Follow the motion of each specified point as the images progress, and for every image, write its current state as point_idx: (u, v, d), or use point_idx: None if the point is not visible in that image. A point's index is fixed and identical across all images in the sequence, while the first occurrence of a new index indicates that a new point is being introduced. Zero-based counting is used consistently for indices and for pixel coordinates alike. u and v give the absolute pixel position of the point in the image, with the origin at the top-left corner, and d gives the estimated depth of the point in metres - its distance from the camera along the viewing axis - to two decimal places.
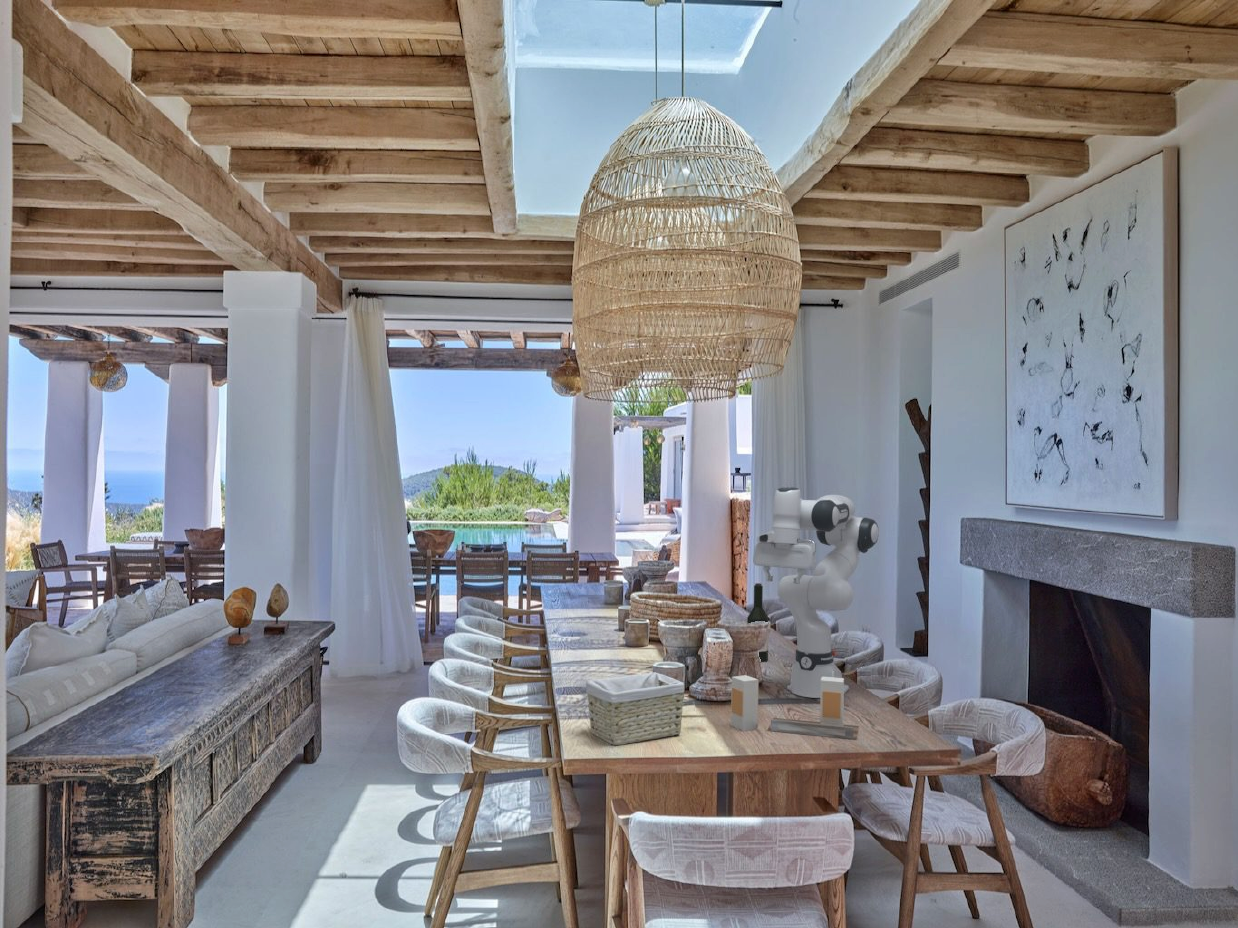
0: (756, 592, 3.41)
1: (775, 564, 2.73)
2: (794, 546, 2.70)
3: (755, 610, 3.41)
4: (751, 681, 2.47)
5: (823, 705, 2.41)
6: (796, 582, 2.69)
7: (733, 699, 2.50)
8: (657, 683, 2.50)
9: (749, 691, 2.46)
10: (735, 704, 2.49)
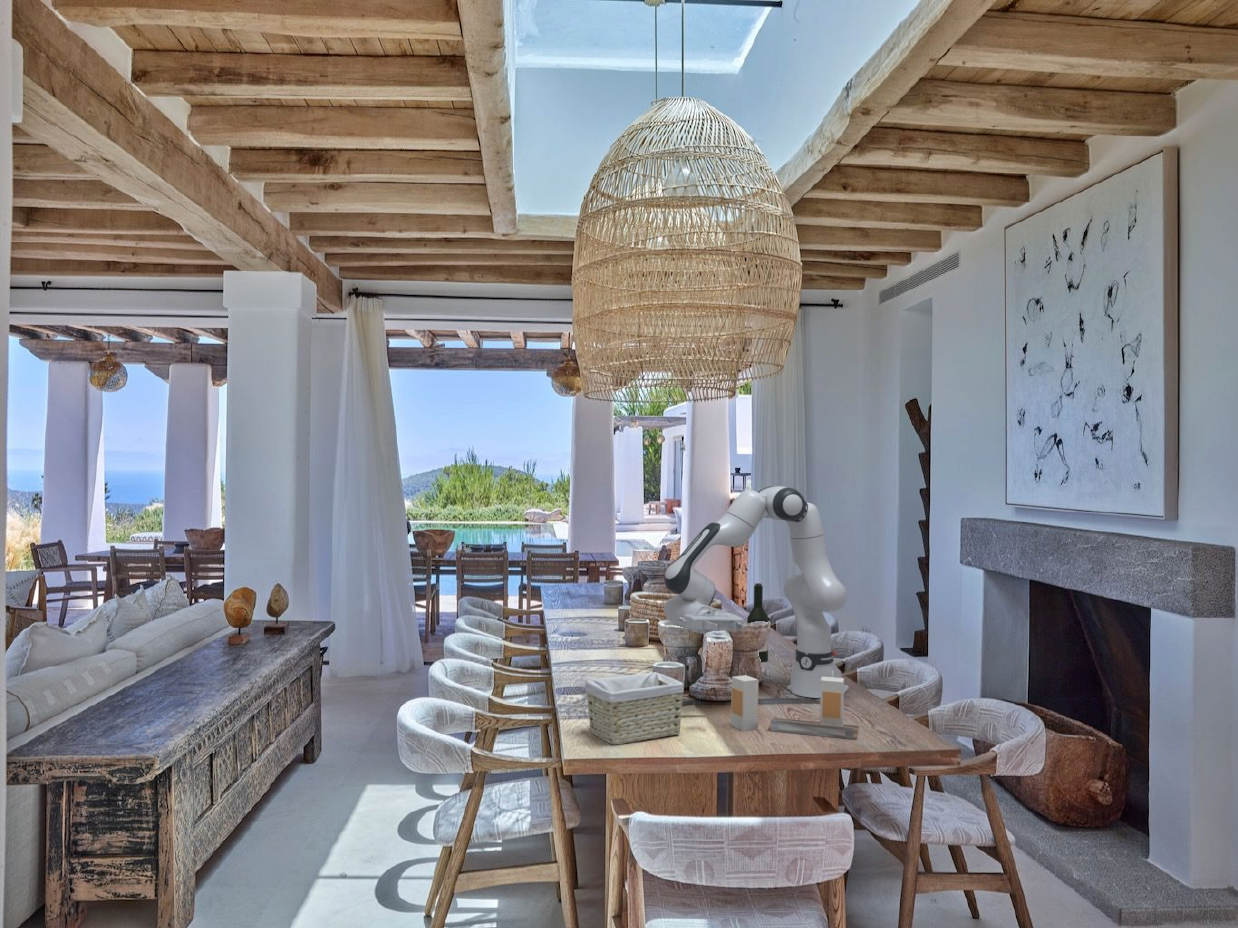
0: (756, 592, 3.41)
1: (722, 629, 2.65)
2: None
3: (755, 610, 3.41)
4: (751, 681, 2.47)
5: (823, 705, 2.41)
6: (716, 630, 2.57)
7: (733, 699, 2.50)
8: (657, 683, 2.50)
9: (749, 691, 2.46)
10: (735, 704, 2.49)
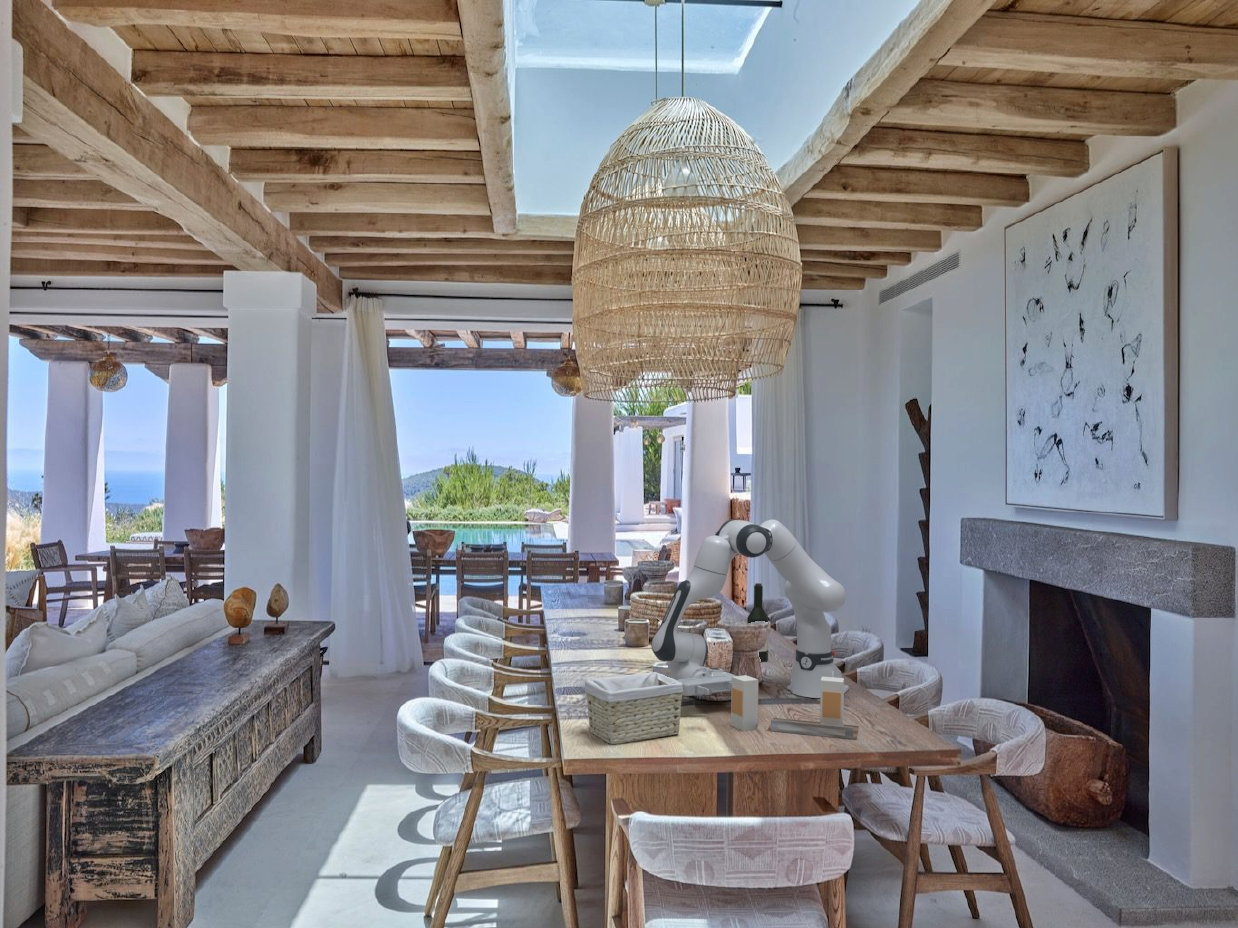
0: (756, 592, 3.41)
1: (718, 691, 2.65)
2: None
3: (755, 610, 3.41)
4: (751, 681, 2.47)
5: (823, 705, 2.41)
6: (708, 694, 2.57)
7: (733, 699, 2.50)
8: (656, 683, 2.51)
9: (749, 691, 2.46)
10: (735, 704, 2.49)
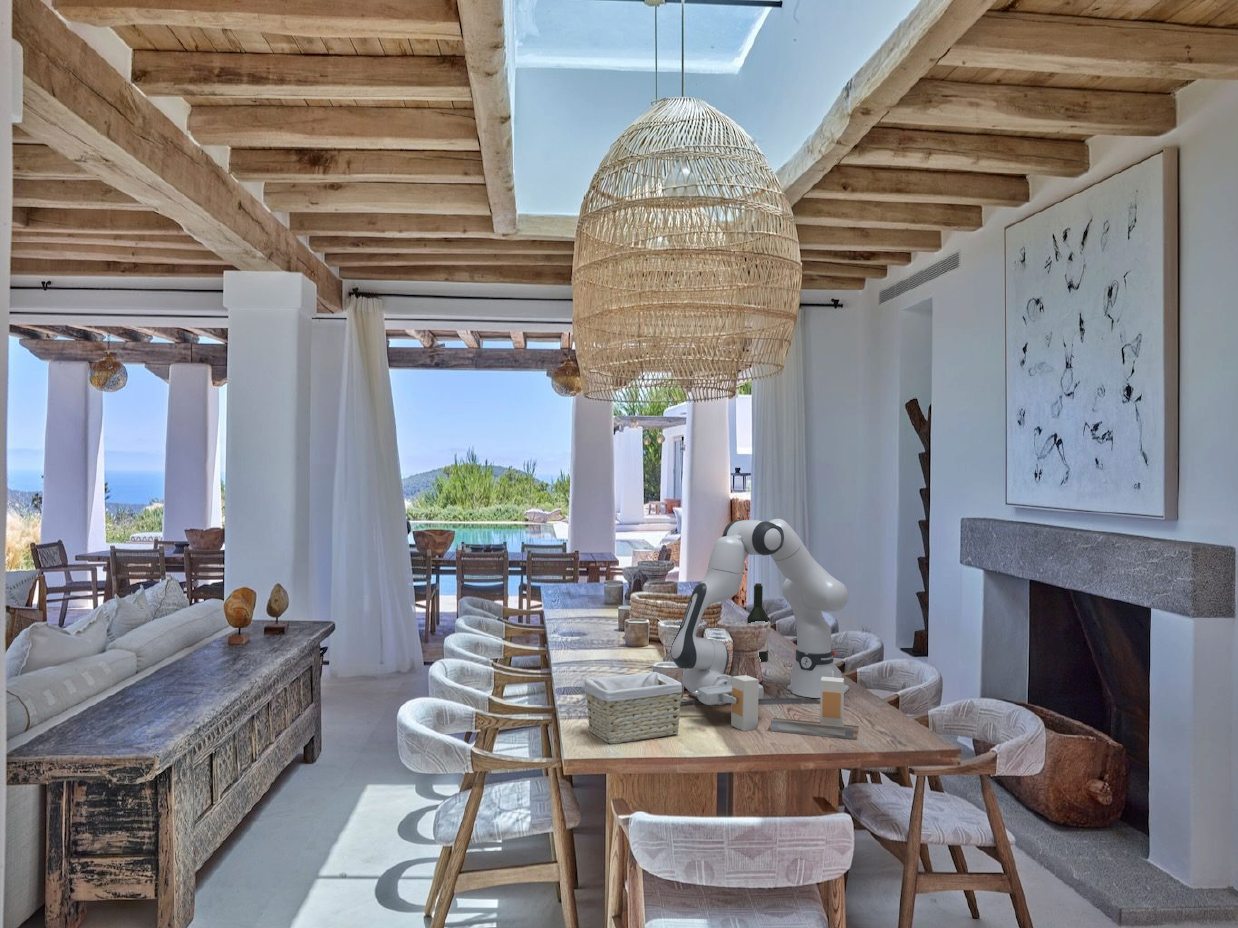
0: (756, 592, 3.41)
1: None
2: None
3: (755, 610, 3.41)
4: (751, 681, 2.47)
5: (823, 705, 2.41)
6: (735, 703, 2.47)
7: None
8: (656, 683, 2.51)
9: (749, 691, 2.47)
10: (735, 704, 2.49)
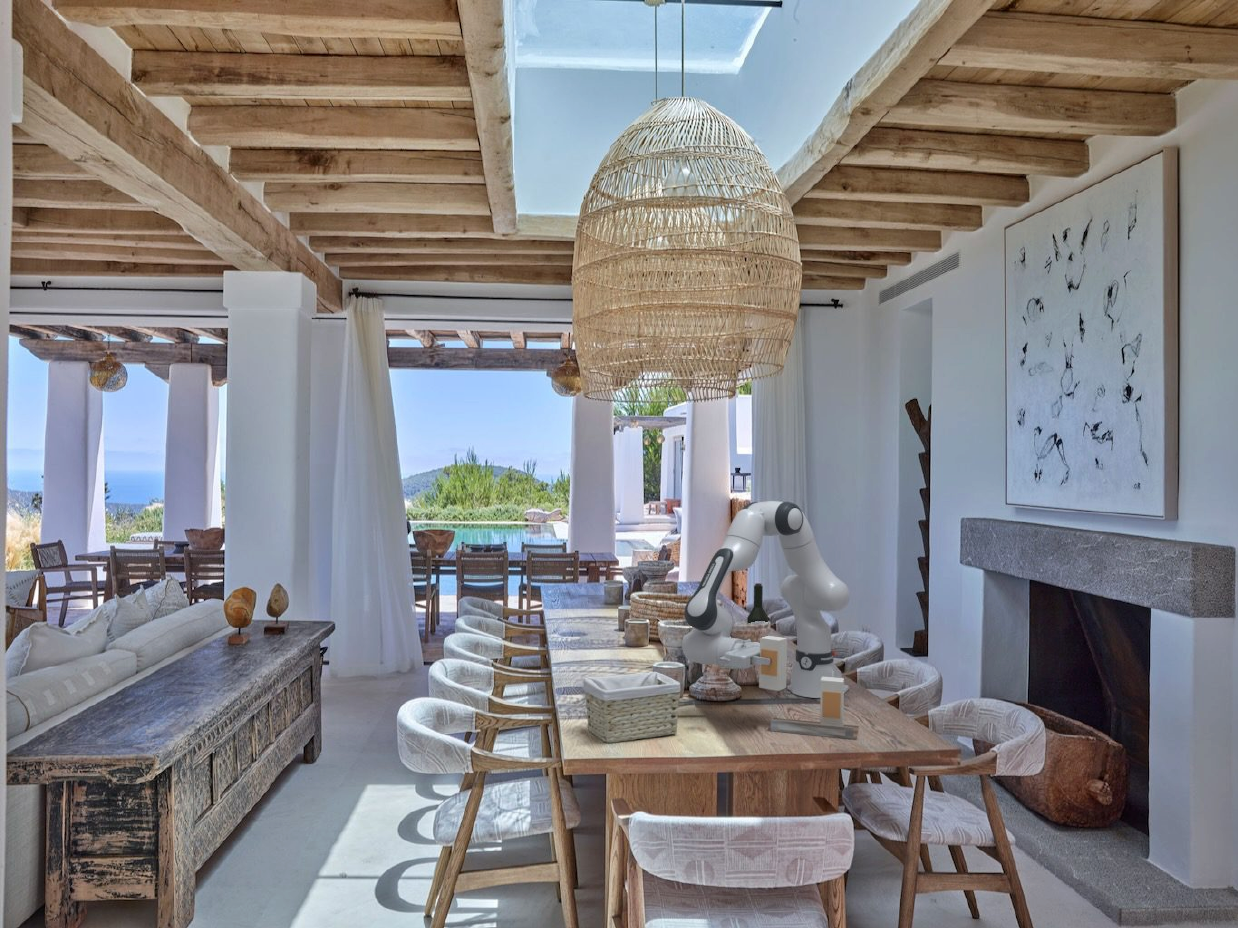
0: (756, 592, 3.41)
1: None
2: None
3: (755, 610, 3.41)
4: (783, 640, 2.46)
5: (823, 705, 2.41)
6: (768, 664, 2.44)
7: None
8: (656, 682, 2.51)
9: (782, 650, 2.45)
10: (766, 665, 2.45)
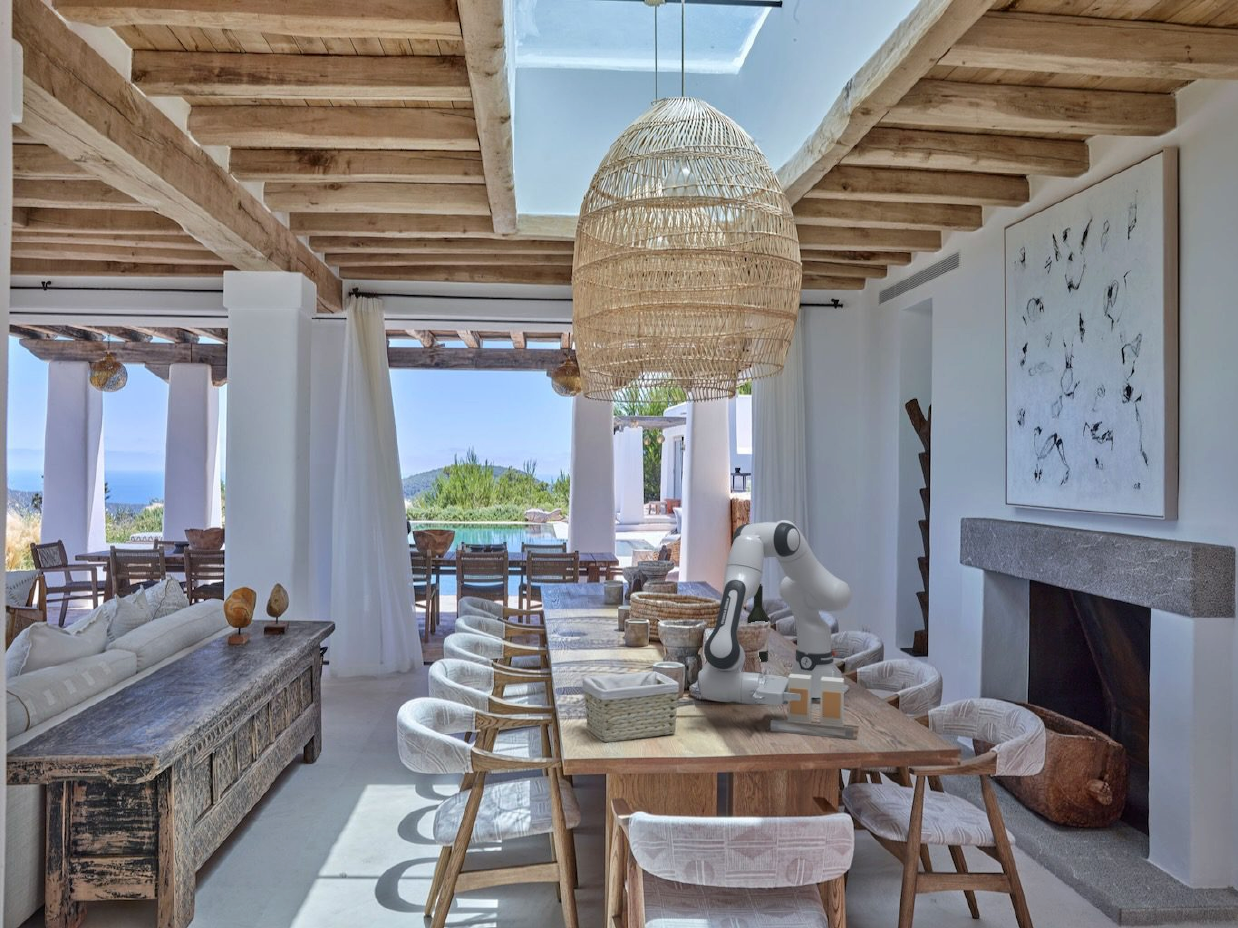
0: None
1: None
2: None
3: (755, 610, 3.41)
4: (810, 678, 2.45)
5: (823, 705, 2.41)
6: None
7: None
8: (656, 682, 2.51)
9: (810, 688, 2.45)
10: (796, 704, 2.44)
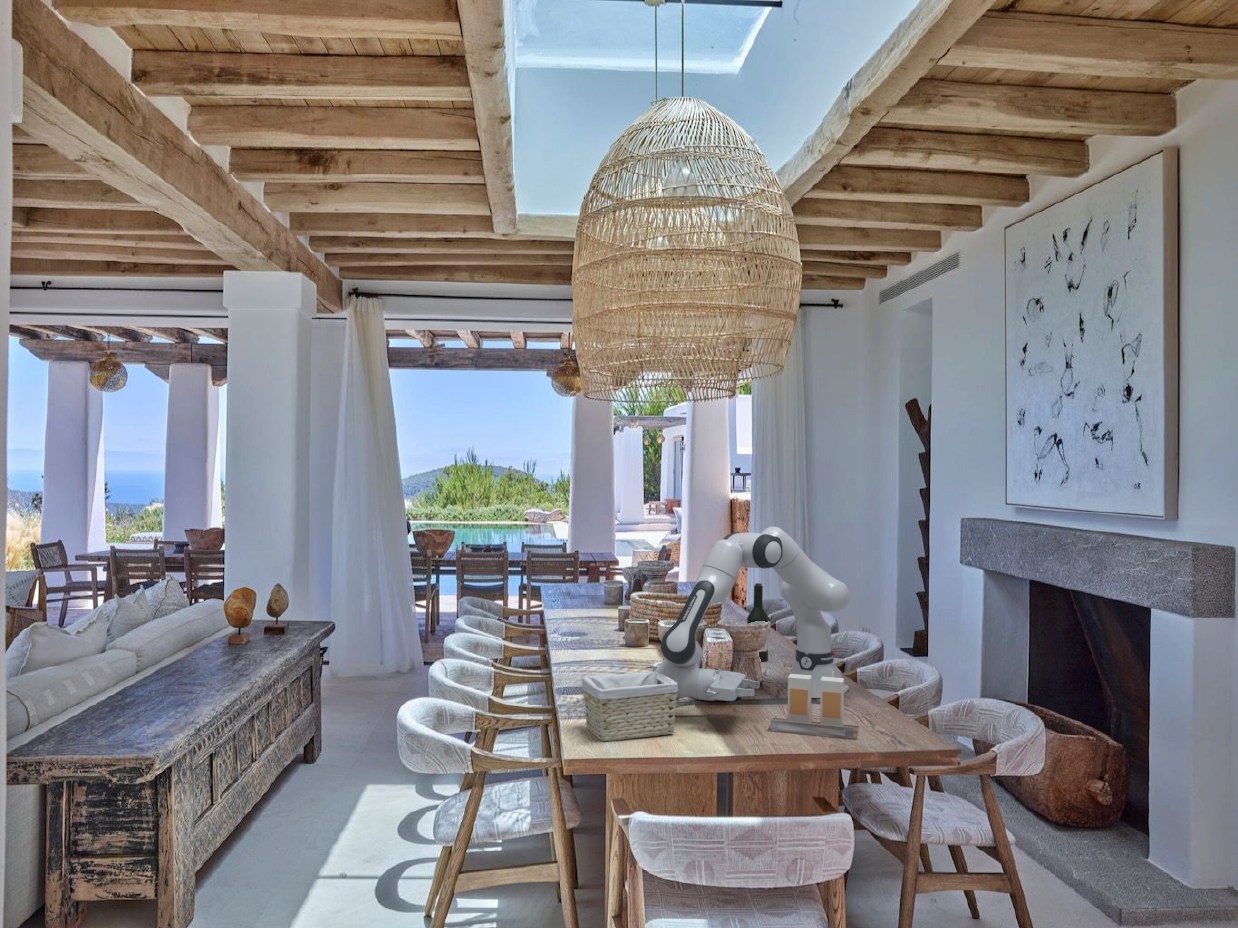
0: (756, 592, 3.41)
1: None
2: None
3: (755, 610, 3.41)
4: (810, 678, 2.45)
5: (823, 705, 2.41)
6: None
7: (792, 700, 2.44)
8: (656, 682, 2.51)
9: (810, 689, 2.44)
10: (796, 704, 2.43)
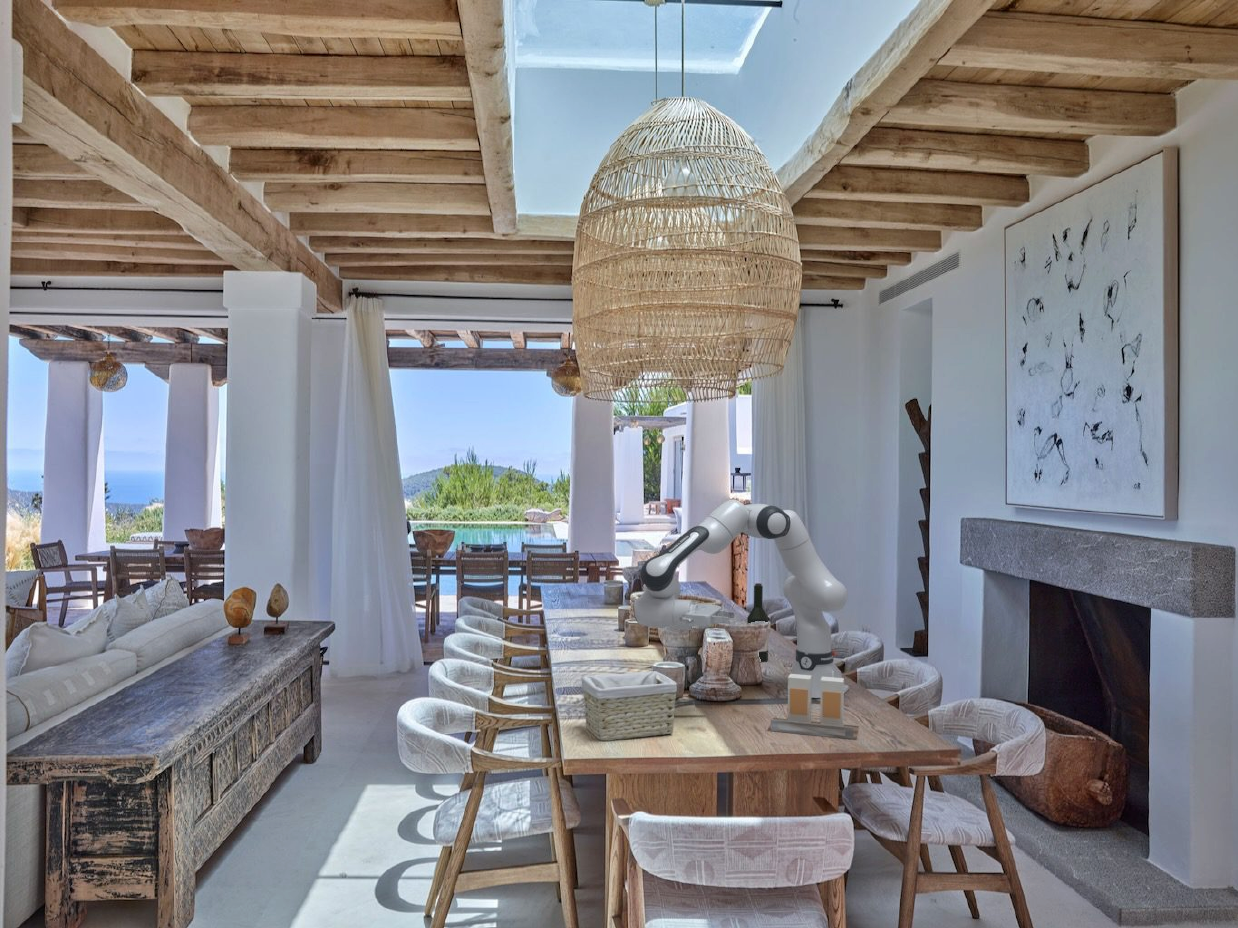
0: (756, 592, 3.41)
1: None
2: None
3: (755, 610, 3.41)
4: (810, 678, 2.45)
5: (823, 705, 2.41)
6: None
7: (792, 700, 2.44)
8: (656, 682, 2.52)
9: (810, 689, 2.44)
10: (796, 704, 2.43)
